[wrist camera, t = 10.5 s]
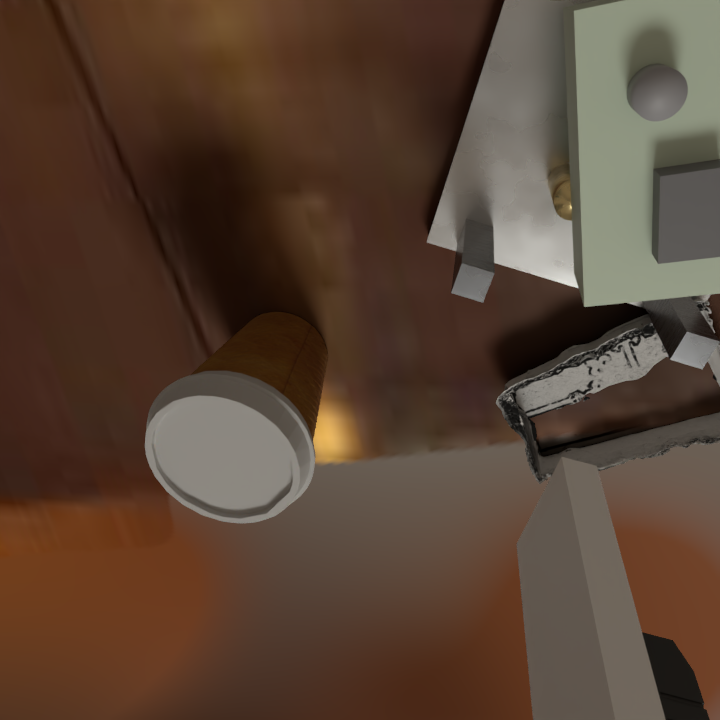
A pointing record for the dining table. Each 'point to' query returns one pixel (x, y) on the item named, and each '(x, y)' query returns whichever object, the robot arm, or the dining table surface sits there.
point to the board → (644, 148)
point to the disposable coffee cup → (242, 422)
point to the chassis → (531, 176)
